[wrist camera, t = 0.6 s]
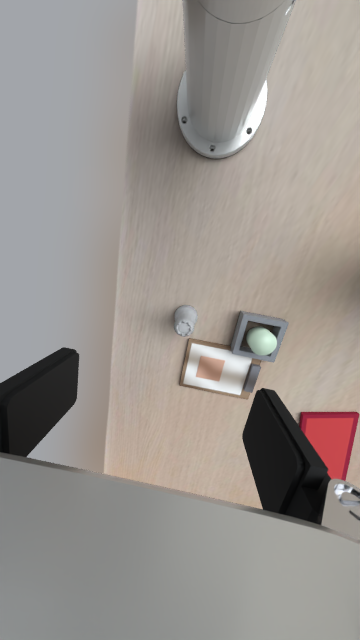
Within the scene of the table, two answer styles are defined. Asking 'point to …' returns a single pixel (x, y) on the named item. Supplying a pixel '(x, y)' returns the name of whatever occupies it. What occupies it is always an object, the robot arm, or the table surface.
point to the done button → (261, 340)
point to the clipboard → (218, 369)
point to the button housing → (244, 317)
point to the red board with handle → (331, 438)
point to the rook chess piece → (185, 320)
